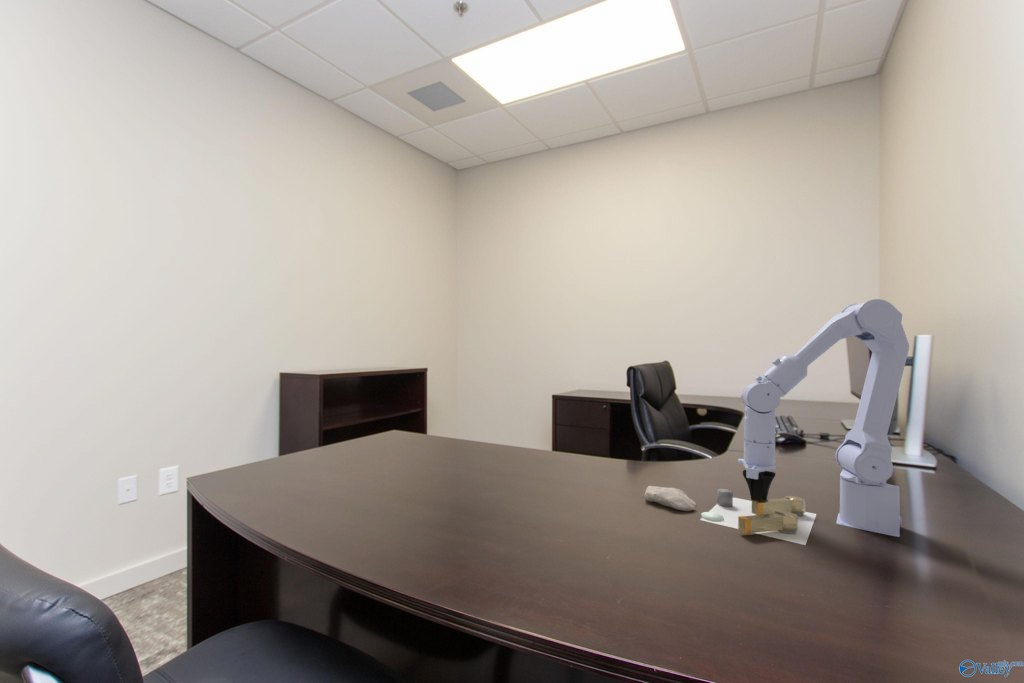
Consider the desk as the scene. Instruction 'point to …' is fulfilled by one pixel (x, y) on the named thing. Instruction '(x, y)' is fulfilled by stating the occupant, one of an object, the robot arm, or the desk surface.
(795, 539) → the levelling base
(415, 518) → the desk surface
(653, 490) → the decorative stone
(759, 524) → the translucent tan bar
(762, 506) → the far capped tube
